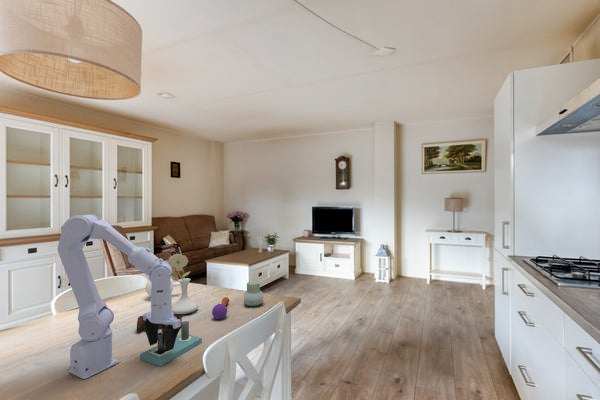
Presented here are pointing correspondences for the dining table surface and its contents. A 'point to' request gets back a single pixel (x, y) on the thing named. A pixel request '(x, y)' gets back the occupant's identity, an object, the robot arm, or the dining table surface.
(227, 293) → the dining table surface
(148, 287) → the piggy bank
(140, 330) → the bolt
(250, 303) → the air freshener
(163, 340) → the pin
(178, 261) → the flower in vase
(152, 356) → the pin board
